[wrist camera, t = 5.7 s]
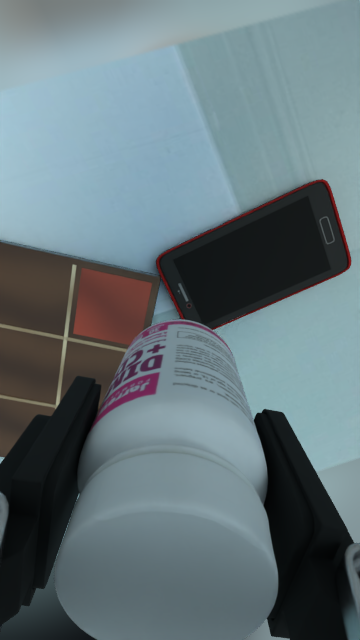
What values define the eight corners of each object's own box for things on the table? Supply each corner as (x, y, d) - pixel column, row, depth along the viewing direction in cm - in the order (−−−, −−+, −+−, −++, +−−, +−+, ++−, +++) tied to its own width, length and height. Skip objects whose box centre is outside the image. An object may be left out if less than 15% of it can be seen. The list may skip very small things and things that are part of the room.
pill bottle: (151, 296, 12) (89, 438, 4) (254, 346, 13) (364, 551, 5) (105, 390, 14) (-4, 628, 6) (201, 432, 14) (222, 700, 6)
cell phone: (349, 266, 26) (355, 268, 26) (190, 335, 28) (191, 339, 27) (322, 176, 24) (328, 174, 23) (152, 257, 26) (151, 258, 25)
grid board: (-96, 218, 25) (-108, 218, 24) (161, 275, 27) (160, 277, 26) (-87, 434, 31) (-97, 441, 30) (121, 469, 33) (119, 477, 32)
